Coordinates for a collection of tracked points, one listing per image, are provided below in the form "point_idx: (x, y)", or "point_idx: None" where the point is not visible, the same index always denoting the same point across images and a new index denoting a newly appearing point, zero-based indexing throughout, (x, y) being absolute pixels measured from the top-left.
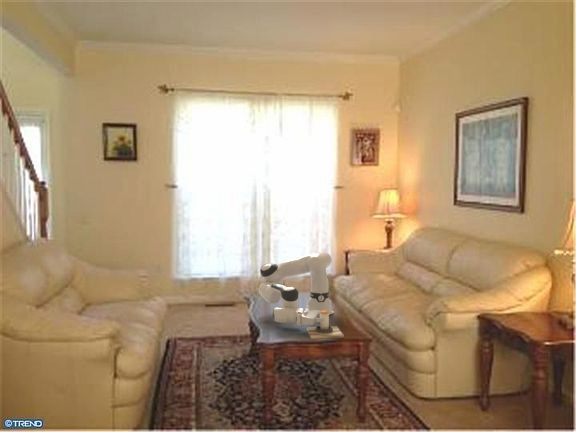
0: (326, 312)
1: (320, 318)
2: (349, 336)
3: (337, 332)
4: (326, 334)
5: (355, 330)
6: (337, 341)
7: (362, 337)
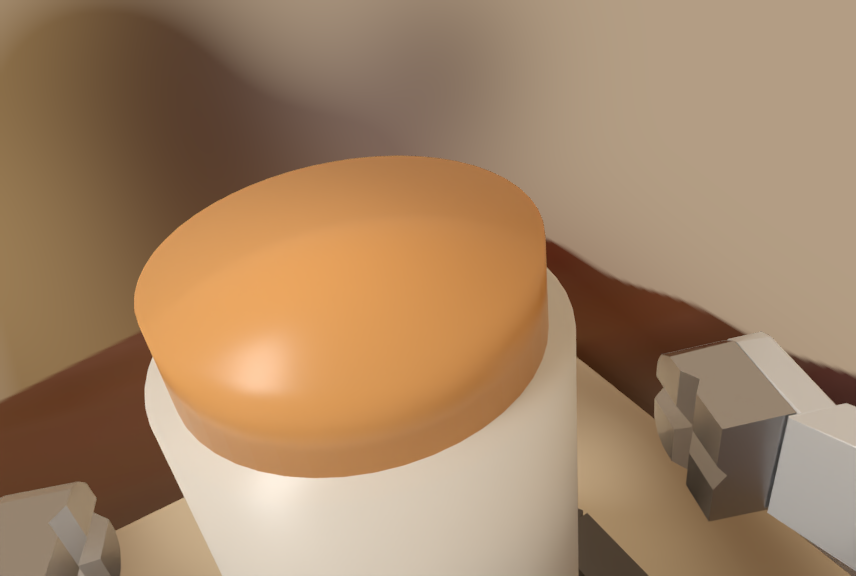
0: (461, 172)
1: (818, 402)
2: None
3: None
4: (679, 564)
5: (82, 373)
6: None
7: None
